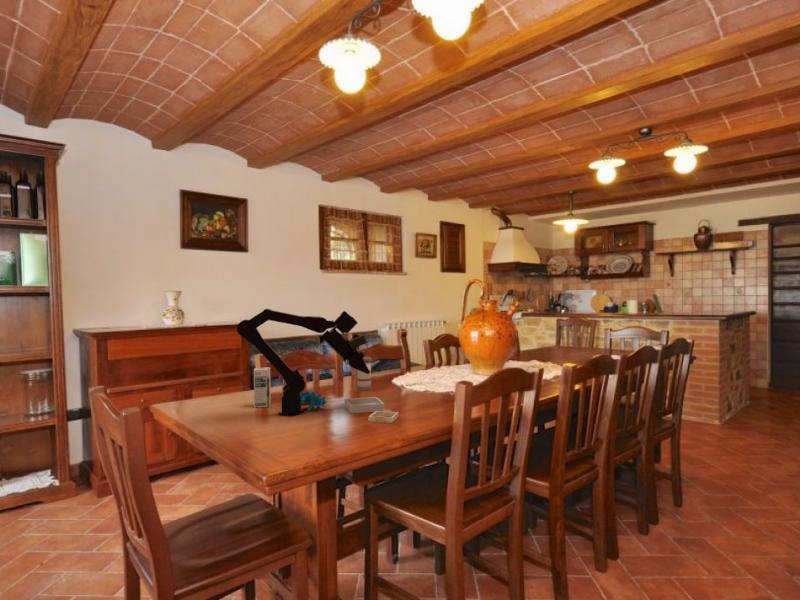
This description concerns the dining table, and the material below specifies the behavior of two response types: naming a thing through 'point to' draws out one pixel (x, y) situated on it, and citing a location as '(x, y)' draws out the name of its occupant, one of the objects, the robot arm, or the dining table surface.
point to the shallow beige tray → (383, 416)
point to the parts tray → (364, 405)
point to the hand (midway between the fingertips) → (367, 372)
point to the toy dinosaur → (312, 400)
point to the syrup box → (261, 387)
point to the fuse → (364, 377)
